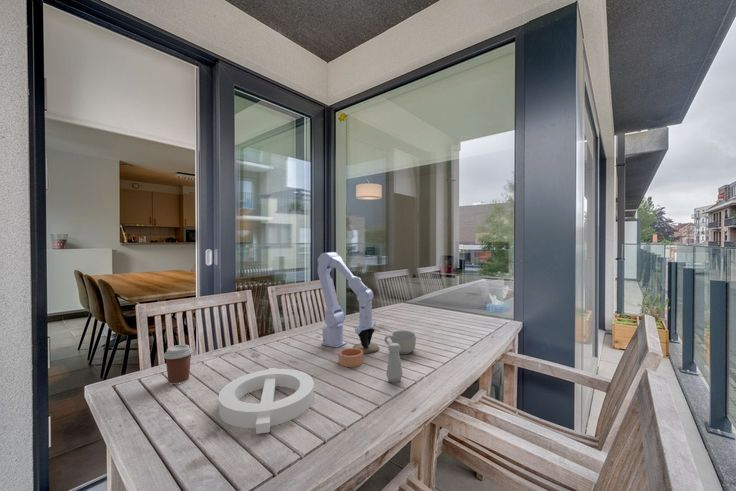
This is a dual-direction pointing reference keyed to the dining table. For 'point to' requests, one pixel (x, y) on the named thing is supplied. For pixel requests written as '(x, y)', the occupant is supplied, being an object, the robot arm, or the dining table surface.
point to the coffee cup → (178, 363)
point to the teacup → (403, 341)
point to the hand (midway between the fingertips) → (365, 345)
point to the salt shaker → (394, 364)
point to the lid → (367, 348)
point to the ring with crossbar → (265, 399)
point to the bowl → (351, 357)
